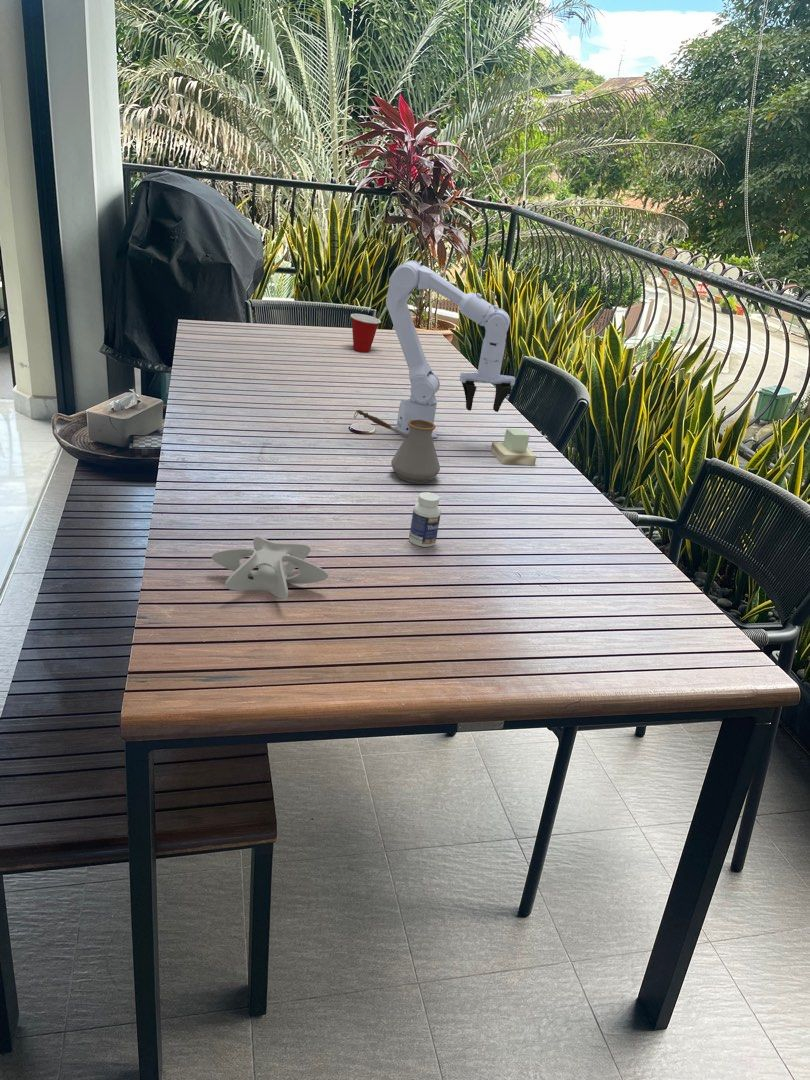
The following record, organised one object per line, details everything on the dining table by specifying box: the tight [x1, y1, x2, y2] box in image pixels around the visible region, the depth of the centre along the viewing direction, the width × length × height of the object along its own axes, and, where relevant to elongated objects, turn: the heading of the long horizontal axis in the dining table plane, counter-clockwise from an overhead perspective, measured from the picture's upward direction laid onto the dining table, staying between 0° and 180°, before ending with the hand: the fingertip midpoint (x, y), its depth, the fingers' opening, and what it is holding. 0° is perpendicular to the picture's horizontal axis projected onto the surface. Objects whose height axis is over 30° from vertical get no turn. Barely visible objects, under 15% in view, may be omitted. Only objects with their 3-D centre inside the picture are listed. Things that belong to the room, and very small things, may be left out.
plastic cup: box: [350, 313, 382, 353], centre depth 296 cm, size 11×11×12 cm
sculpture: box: [211, 536, 329, 600], centre depth 141 cm, size 18×20×6 cm
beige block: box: [490, 441, 537, 466], centre depth 216 cm, size 9×9×3 cm
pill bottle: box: [408, 491, 442, 548], centre depth 163 cm, size 5×5×10 cm
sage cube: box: [503, 428, 530, 452], centre depth 215 cm, size 4×4×4 cm
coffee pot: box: [353, 409, 441, 484], centre depth 191 cm, size 21×12×15 cm, turn 99°
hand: (482, 410), depth 219 cm, fingers open, 7 cm apart
